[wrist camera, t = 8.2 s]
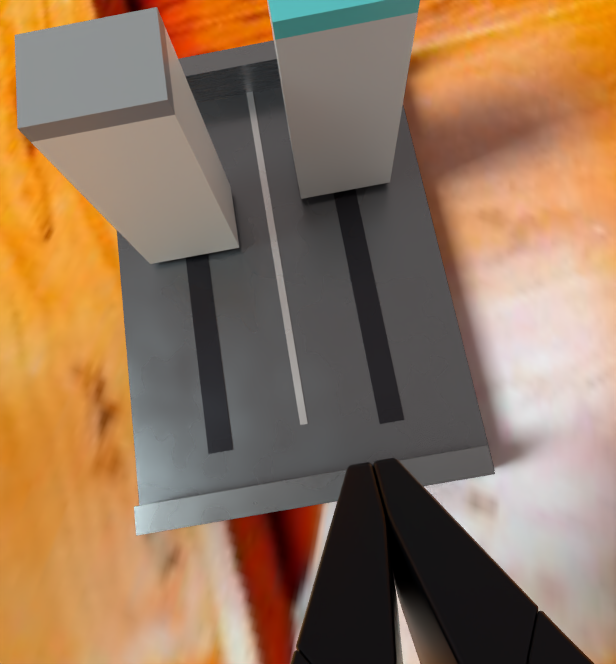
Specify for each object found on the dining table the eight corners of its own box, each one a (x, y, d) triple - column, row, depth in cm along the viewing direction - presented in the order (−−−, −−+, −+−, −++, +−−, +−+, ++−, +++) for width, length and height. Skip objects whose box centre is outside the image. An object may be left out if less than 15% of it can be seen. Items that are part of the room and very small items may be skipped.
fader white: (239, 247, 23) (167, 99, 14) (149, 264, 23) (17, 127, 14) (230, 186, 24) (156, 7, 14) (144, 203, 24) (15, 35, 14)
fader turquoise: (389, 182, 23) (420, -7, 14) (301, 198, 23) (272, 21, 14) (376, 124, 24) (397, -92, 15) (290, 140, 24) (256, -65, 15)
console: (486, 470, 21) (508, 471, 18) (152, 527, 22) (122, 537, 19) (386, 66, 26) (392, 17, 23) (116, 118, 27) (89, 76, 24)
